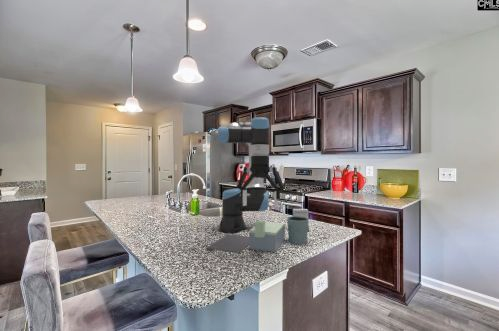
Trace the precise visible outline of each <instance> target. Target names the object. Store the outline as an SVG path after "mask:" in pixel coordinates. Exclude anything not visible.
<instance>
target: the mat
mask: <svg viewBox="0 0 499 331" xmlns="http://www.w3.org/2000/svg"><path fill="white" fill-rule="evenodd" d="M247 247H249V236H247V235H245V236H244V235H239V234H230V233H229V234H228V233H227V234H226V235H224V236H223V237H221V238H219V239H218V240H216V241H215V242H213V243H211V244H210V245H209V246H207V247H206V251H210V252H211V251H212V252H213V251H214V250H216V251H222V252H230V253H237V254H240V253H242V252H243V251H244V250H245V249H246V248H247Z"/></svg>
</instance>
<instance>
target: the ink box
mask: <svg viewBox="0 0 499 331" xmlns="http://www.w3.org/2000/svg"><path fill="white" fill-rule="evenodd" d="M292 216H300V217H306V218H308V232H309V229H310V228H309V227H310V226H309V221H310V220H309V210H308V209H307V208H293V209H292Z"/></svg>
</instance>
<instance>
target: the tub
mask: <svg viewBox="0 0 499 331" xmlns="http://www.w3.org/2000/svg"><path fill="white" fill-rule="evenodd" d="M248 235H249V236H248V237H249V245H248V248H249V250H255V251H256V250H257V251H264V252H271V253H277V252H278V250H279V249H280V247H281V246H282V244H284V242H285V240H286V225H285V226H284V227H283V228H282V229H281V230H280V231H279V232H278V234H277V235H268V234H265V236H264V237H263V238H262V237H255V233H249V232H248Z"/></svg>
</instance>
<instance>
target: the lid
mask: <svg viewBox="0 0 499 331" xmlns="http://www.w3.org/2000/svg"><path fill="white" fill-rule="evenodd" d="M284 226H285V227H286V223H285V222H276V221H275V222H274V221H265V220H264V221H263V220H256V221H254V226H253V227H252V228H250V229H249V230H248V234H249V233H255V237H262V238H263V237H264V236H265V234H268V235H277V234H278V232H279V231H280V230H281V229H282V228H283V227H284Z"/></svg>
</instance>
